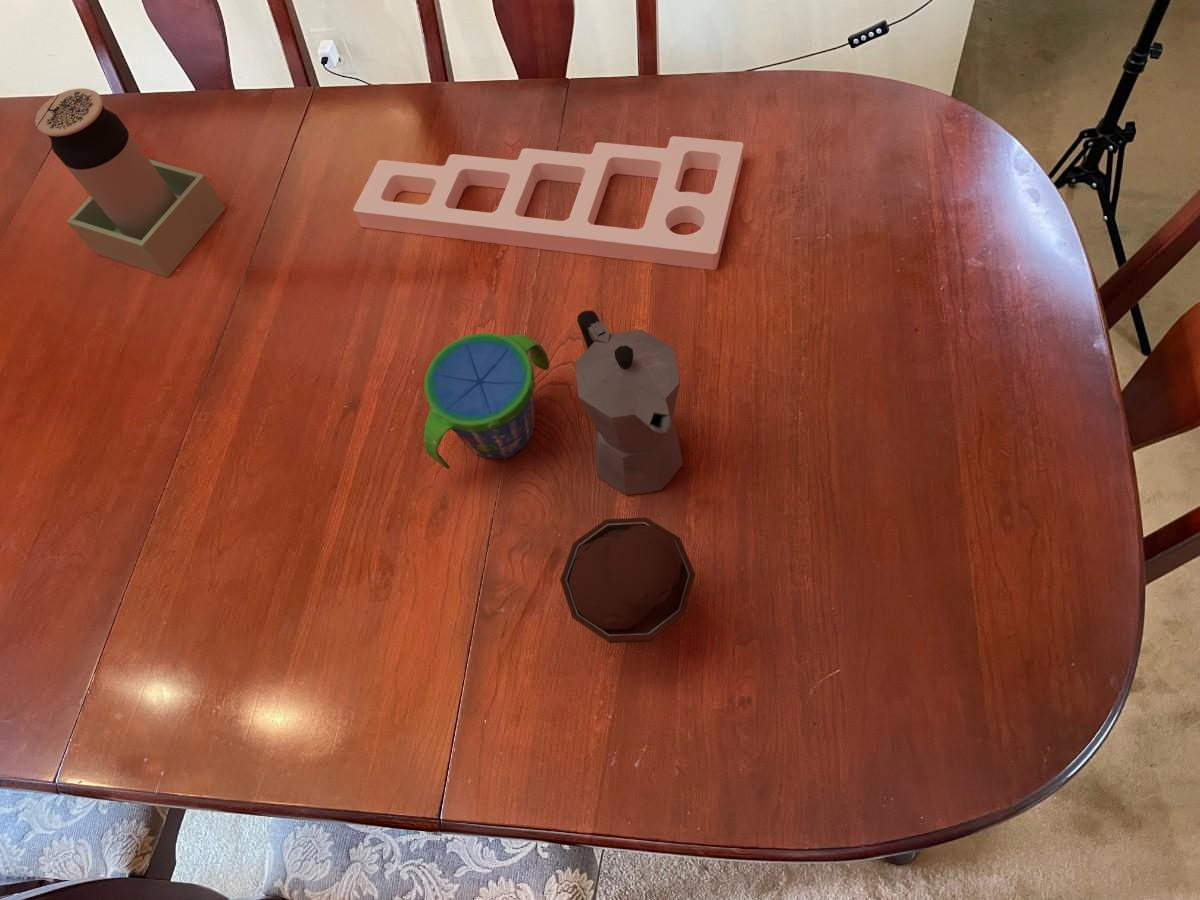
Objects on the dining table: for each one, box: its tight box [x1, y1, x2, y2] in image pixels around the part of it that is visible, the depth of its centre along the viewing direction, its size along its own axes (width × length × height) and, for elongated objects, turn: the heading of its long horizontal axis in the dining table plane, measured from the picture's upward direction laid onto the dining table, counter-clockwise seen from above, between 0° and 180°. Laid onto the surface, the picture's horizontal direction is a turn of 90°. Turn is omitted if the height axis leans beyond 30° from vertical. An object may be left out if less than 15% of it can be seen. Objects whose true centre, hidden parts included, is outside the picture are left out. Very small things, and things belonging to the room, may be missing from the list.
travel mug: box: [34, 87, 177, 240], centre depth 101 cm, size 8×8×18 cm
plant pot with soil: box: [559, 517, 696, 644], centre depth 71 cm, size 11×11×15 cm
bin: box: [66, 158, 227, 278], centre depth 107 cm, size 12×12×6 cm
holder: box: [352, 135, 744, 271], centre depth 104 cm, size 45×18×3 cm, turn 76°
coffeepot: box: [574, 310, 684, 496], centre depth 79 cm, size 15×9×18 cm, turn 28°
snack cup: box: [423, 332, 551, 470], centre depth 85 cm, size 16×10×10 cm
